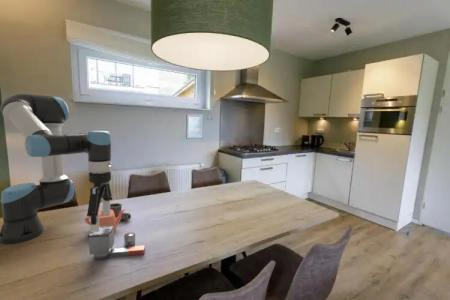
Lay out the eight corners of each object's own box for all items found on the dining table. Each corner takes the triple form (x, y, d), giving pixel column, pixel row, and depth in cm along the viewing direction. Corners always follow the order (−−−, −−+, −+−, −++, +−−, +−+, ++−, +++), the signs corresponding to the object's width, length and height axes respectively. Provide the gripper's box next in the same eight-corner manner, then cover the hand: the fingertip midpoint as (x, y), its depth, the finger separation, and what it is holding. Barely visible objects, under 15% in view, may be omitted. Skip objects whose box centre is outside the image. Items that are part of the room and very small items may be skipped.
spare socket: (123, 248, 96) (123, 237, 95) (125, 243, 100) (125, 232, 100) (134, 247, 97) (134, 237, 96) (136, 242, 101) (136, 232, 101)
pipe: (126, 223, 119) (125, 209, 118) (105, 220, 122) (105, 206, 121) (133, 218, 125) (133, 204, 124) (113, 215, 128) (113, 202, 127)
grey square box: (89, 254, 86) (88, 235, 85) (96, 244, 93) (95, 226, 92) (109, 253, 87) (108, 234, 86) (114, 243, 94) (113, 225, 93)
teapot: (86, 228, 112) (85, 208, 110) (125, 222, 120) (125, 203, 119) (84, 239, 102) (83, 218, 100) (127, 232, 110) (126, 211, 109)
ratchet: (91, 261, 87) (91, 244, 86) (97, 252, 93) (96, 236, 92) (143, 256, 91) (143, 240, 90) (145, 248, 97) (145, 233, 96)
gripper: (99, 180, 75) (100, 239, 78) (119, 164, 99) (119, 209, 102) (74, 180, 73) (76, 240, 76) (100, 163, 97) (101, 210, 100)
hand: (101, 222), depth 89 cm, fingers open, 13 cm apart
